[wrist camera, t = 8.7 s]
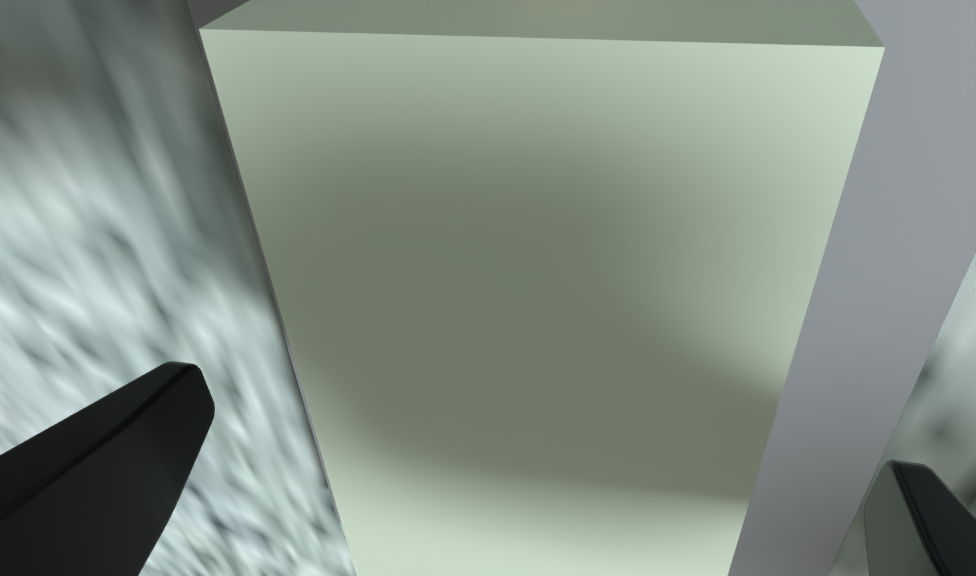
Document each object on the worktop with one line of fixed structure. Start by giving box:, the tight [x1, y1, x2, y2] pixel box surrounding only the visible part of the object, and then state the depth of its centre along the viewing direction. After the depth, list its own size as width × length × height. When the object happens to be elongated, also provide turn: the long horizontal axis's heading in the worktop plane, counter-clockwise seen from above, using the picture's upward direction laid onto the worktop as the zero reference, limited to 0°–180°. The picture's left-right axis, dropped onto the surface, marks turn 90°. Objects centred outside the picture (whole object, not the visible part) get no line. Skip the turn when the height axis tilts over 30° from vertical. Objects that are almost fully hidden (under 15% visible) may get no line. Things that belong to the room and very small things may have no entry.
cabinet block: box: [199, 0, 885, 576], centre depth 11 cm, size 6×11×6 cm, turn 3°
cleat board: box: [186, 0, 976, 576], centre depth 13 cm, size 14×24×2 cm, turn 3°
